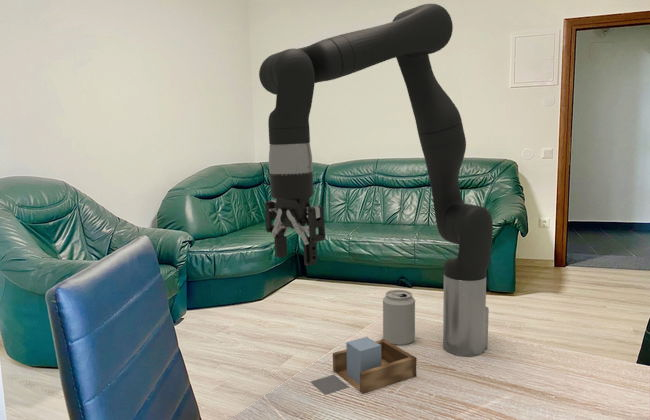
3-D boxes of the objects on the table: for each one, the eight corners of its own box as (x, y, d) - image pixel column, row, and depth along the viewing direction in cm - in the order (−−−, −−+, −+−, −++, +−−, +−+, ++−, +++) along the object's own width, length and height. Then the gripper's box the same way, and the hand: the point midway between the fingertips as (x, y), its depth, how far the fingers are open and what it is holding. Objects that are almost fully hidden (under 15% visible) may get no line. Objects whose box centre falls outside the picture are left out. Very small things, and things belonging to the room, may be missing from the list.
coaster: (333, 377, 103) (333, 374, 103) (349, 389, 98) (349, 386, 97) (310, 384, 100) (310, 381, 100) (325, 397, 95) (325, 394, 95)
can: (414, 348, 115) (414, 298, 113) (381, 346, 117) (381, 297, 115) (415, 335, 122) (415, 288, 121) (384, 334, 124) (384, 287, 122)
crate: (383, 358, 111) (383, 339, 110) (416, 378, 101) (416, 357, 101) (333, 373, 104) (332, 353, 104) (362, 396, 95) (362, 374, 94)
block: (367, 368, 105) (366, 336, 104) (381, 378, 101) (381, 345, 100) (346, 374, 102) (346, 342, 101) (360, 385, 98) (360, 351, 97)
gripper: (334, 169, 84) (337, 263, 87) (284, 167, 95) (288, 250, 98) (299, 173, 80) (303, 272, 82) (250, 170, 90) (256, 258, 93)
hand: (295, 260), depth 90 cm, fingers open, 8 cm apart
